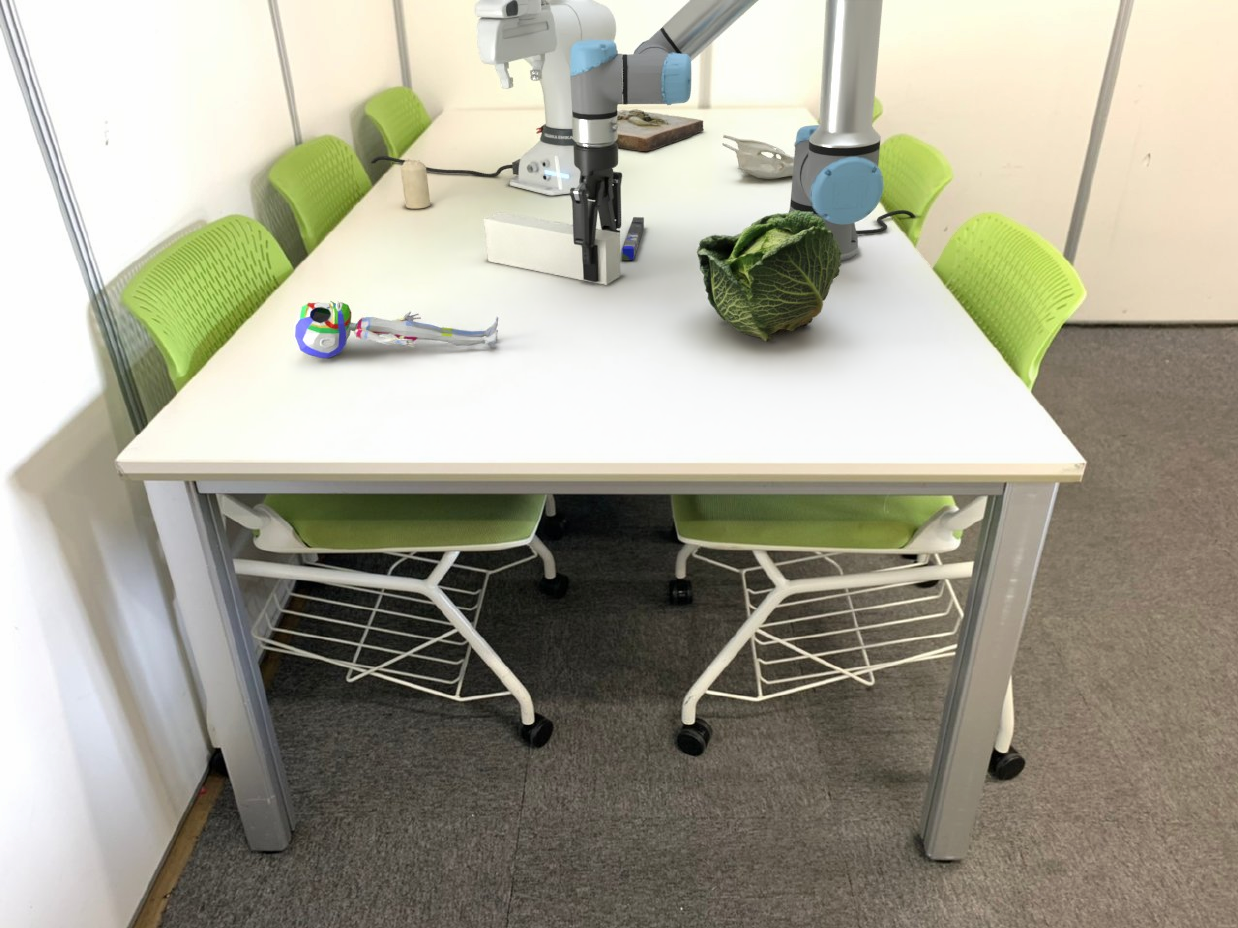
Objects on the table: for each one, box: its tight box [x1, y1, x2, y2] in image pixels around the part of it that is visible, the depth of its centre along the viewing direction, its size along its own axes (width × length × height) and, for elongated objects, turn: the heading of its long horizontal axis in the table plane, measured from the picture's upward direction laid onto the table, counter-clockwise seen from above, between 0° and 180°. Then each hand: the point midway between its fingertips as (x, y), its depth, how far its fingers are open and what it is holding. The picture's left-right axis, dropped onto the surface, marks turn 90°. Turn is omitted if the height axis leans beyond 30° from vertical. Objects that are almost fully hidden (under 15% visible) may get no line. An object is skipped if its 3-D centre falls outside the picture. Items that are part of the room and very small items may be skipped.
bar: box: [483, 211, 621, 286], centre depth 165 cm, size 26×5×8 cm, turn 60°
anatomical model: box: [721, 134, 794, 180], centre depth 217 cm, size 15×9×25 cm
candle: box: [399, 158, 431, 210], centre depth 200 cm, size 6×6×10 cm
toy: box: [293, 300, 499, 359], centre depth 136 cm, size 10×8×30 cm
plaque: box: [614, 108, 705, 152], centre depth 257 cm, size 30×7×30 cm
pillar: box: [621, 216, 645, 261], centre depth 178 cm, size 2×2×20 cm
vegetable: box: [696, 210, 842, 342], centre depth 138 cm, size 20×19×20 cm
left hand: (522, 84), depth 170 cm, fingers open, 8 cm apart
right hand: (599, 275), depth 162 cm, fingers closed on bar, 5 cm apart
